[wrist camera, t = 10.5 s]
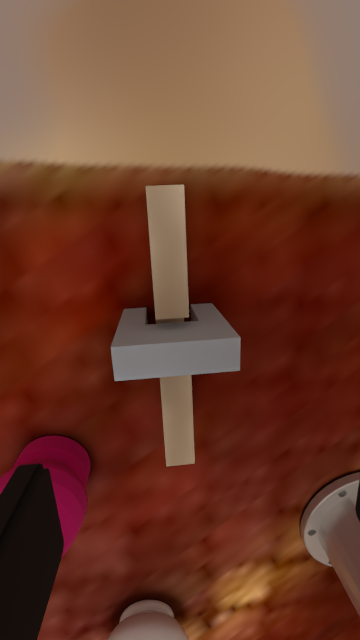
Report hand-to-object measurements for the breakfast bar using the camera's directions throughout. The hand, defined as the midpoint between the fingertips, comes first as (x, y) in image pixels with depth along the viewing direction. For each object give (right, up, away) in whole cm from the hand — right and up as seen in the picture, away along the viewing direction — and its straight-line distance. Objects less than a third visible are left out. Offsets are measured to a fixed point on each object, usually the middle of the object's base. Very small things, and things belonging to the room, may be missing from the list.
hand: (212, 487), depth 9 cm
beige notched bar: (-2, +5, +15) cm, 16 cm away
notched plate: (-2, +5, +15) cm, 16 cm away
